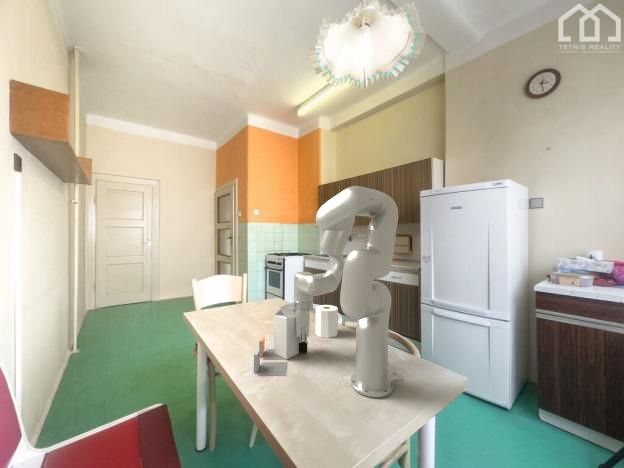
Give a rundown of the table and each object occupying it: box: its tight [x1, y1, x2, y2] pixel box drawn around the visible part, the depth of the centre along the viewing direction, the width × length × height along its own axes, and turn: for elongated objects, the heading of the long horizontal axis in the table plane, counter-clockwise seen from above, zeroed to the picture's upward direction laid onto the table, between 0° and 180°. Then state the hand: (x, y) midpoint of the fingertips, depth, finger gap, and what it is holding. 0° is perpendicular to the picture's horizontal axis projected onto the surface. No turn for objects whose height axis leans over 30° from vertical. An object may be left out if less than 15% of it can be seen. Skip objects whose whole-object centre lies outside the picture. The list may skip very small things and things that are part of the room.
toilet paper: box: [315, 304, 339, 339], centre depth 122 cm, size 10×10×12 cm
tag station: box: [253, 335, 288, 377], centre depth 95 cm, size 11×20×6 cm, turn 2°
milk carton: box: [273, 302, 300, 359], centre depth 101 cm, size 7×7×19 cm
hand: (303, 352), depth 101 cm, fingers closed
